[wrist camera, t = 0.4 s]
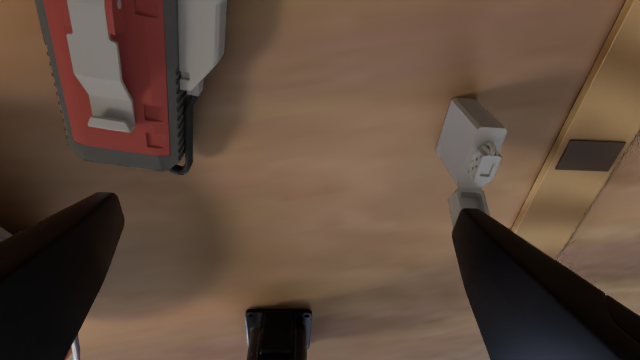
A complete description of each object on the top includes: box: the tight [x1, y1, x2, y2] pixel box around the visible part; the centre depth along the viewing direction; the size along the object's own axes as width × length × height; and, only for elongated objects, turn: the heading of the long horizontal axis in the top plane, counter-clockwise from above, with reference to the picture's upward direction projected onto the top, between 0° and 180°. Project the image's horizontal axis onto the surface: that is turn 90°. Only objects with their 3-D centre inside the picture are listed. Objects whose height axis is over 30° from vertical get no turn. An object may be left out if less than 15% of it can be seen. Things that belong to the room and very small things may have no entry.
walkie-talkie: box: [35, 0, 227, 175], centre depth 17 cm, size 9×4×20 cm
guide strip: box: [511, 0, 640, 260], centre depth 25 cm, size 22×5×1 cm, turn 176°
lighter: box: [436, 98, 507, 228], centre depth 22 cm, size 7×2×8 cm, turn 175°
